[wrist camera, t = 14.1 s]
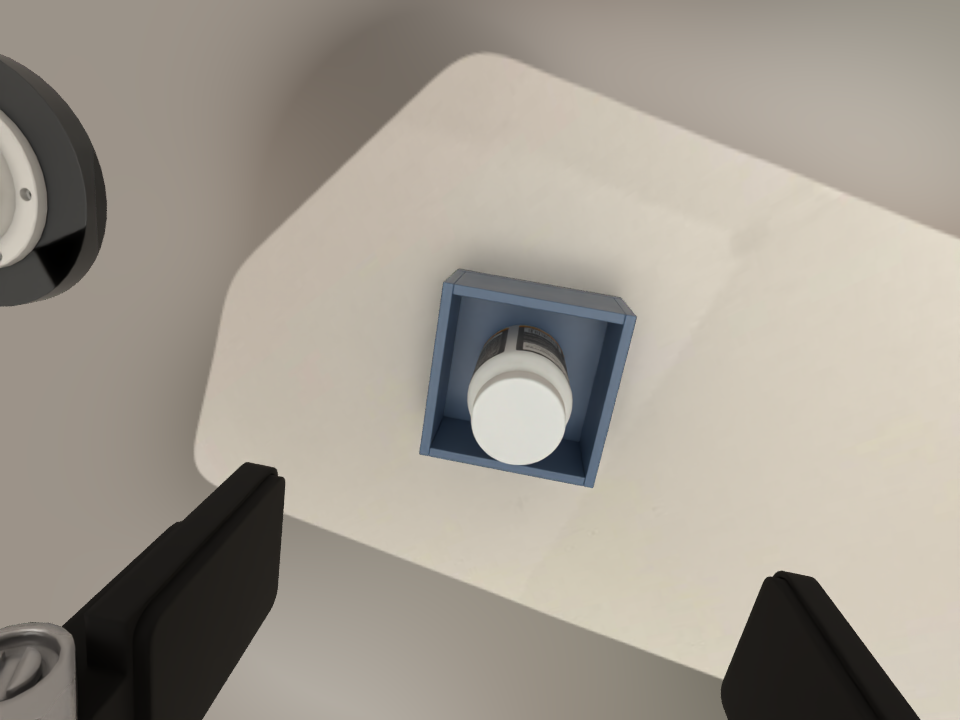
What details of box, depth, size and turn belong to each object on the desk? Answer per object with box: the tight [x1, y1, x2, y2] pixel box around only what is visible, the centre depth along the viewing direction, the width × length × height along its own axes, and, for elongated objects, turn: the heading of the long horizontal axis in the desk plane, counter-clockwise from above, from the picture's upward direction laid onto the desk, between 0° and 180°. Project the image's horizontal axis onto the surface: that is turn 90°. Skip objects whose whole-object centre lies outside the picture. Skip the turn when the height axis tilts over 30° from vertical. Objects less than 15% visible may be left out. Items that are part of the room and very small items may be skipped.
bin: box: [419, 269, 637, 488], centre depth 34 cm, size 11×11×6 cm
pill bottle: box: [467, 325, 573, 465], centre depth 31 cm, size 6×6×10 cm
